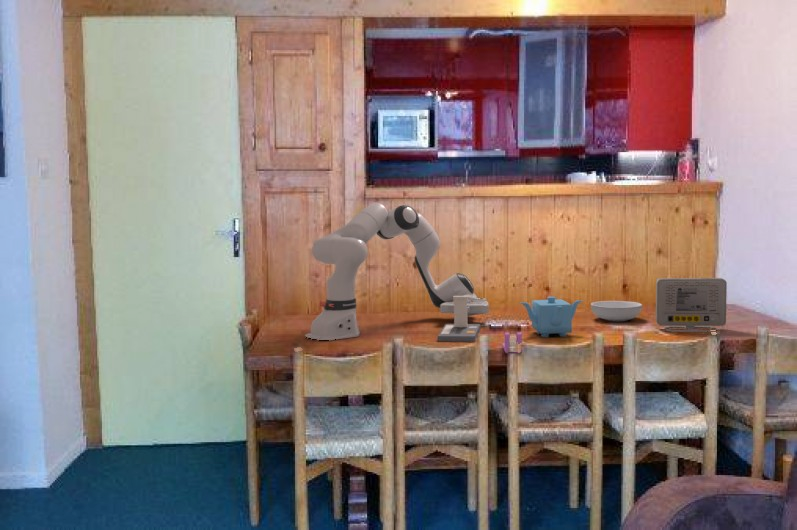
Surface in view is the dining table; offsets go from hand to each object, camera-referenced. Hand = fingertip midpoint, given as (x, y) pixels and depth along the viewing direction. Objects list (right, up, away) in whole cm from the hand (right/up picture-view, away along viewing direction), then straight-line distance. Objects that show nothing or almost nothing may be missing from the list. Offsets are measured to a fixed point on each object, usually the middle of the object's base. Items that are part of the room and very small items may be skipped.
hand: (462, 311), depth 337 cm
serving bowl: (+65, -5, +11) cm, 66 cm away
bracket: (+14, -12, -43) cm, 46 cm away
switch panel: (-2, -9, -14) cm, 17 cm away
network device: (+87, -7, -15) cm, 89 cm away
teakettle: (+33, -8, -19) cm, 39 cm away
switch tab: (-1, -6, -9) cm, 11 cm away
